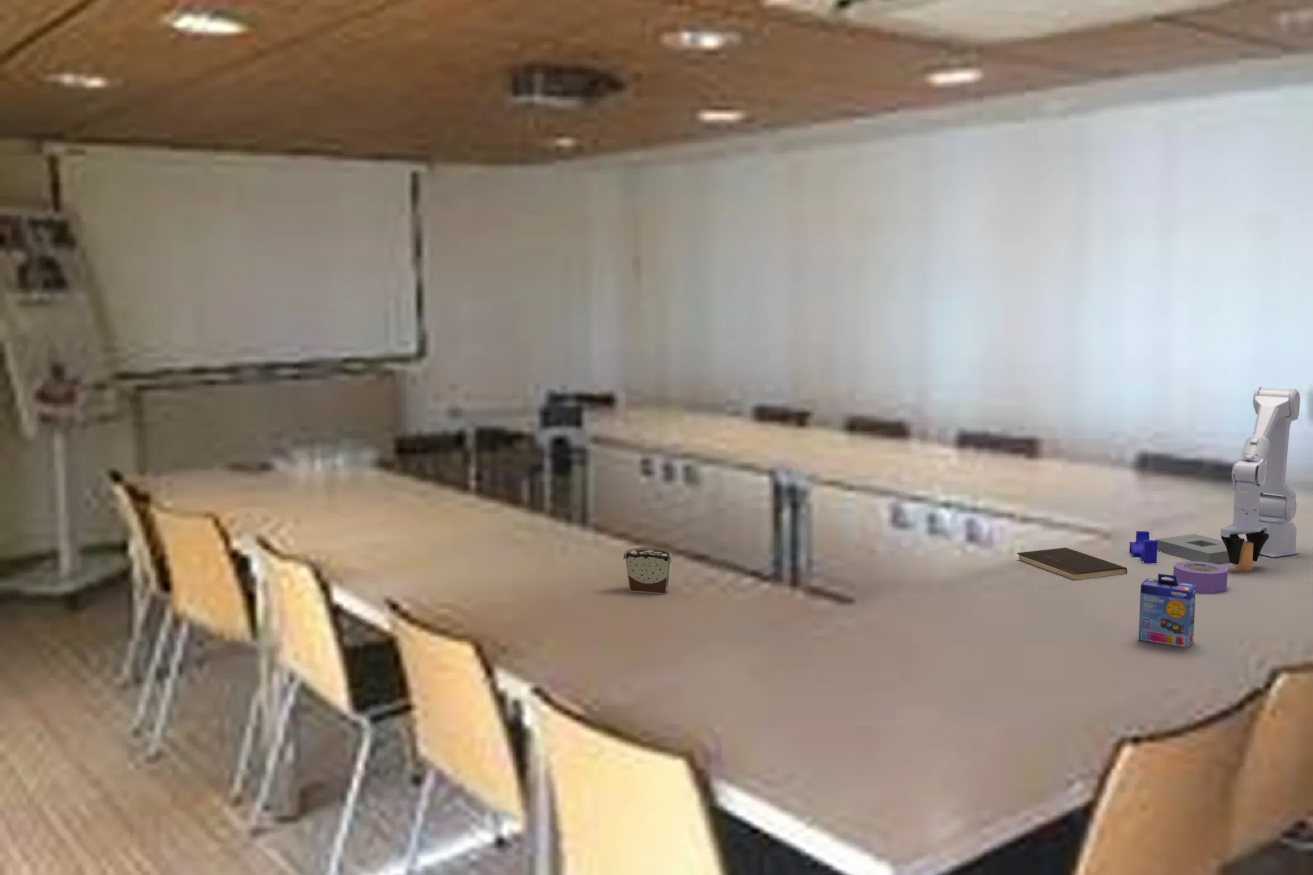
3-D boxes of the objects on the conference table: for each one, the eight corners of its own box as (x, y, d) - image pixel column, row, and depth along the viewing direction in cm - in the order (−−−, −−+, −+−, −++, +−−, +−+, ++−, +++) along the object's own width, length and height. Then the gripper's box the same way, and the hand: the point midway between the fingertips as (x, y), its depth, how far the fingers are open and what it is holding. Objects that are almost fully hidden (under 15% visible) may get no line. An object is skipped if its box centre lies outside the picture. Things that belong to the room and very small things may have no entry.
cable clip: (1129, 552, 326) (1130, 530, 325) (1147, 553, 325) (1148, 531, 325) (1138, 563, 315) (1139, 541, 314) (1156, 564, 314) (1157, 541, 313)
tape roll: (1226, 583, 294) (1227, 563, 294) (1226, 596, 284) (1227, 574, 283) (1173, 579, 299) (1174, 559, 299) (1171, 590, 289) (1172, 570, 288)
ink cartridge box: (1136, 641, 252) (1139, 572, 250) (1143, 634, 256) (1146, 566, 254) (1188, 649, 246) (1191, 579, 244) (1194, 641, 251) (1197, 572, 248)
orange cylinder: (1242, 566, 309) (1243, 539, 308) (1255, 570, 305) (1257, 543, 304) (1230, 568, 308) (1232, 541, 306) (1243, 572, 304) (1245, 544, 303)
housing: (1194, 544, 333) (1194, 533, 333) (1249, 559, 317) (1249, 547, 316) (1154, 550, 328) (1155, 539, 327) (1208, 565, 311) (1209, 553, 311)
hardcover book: (1074, 582, 299) (1074, 573, 299) (1016, 561, 321) (1016, 552, 320) (1127, 576, 304) (1127, 567, 304) (1067, 555, 326) (1067, 547, 325)
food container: (680, 588, 298) (679, 548, 296) (672, 594, 292) (671, 553, 291) (632, 584, 302) (631, 545, 300) (623, 591, 296) (622, 550, 295)
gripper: (1238, 514, 298) (1235, 568, 300) (1281, 508, 303) (1278, 562, 305) (1214, 509, 304) (1212, 562, 306) (1257, 503, 310) (1254, 556, 312)
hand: (1243, 562), depth 306 cm, fingers open, 6 cm apart
